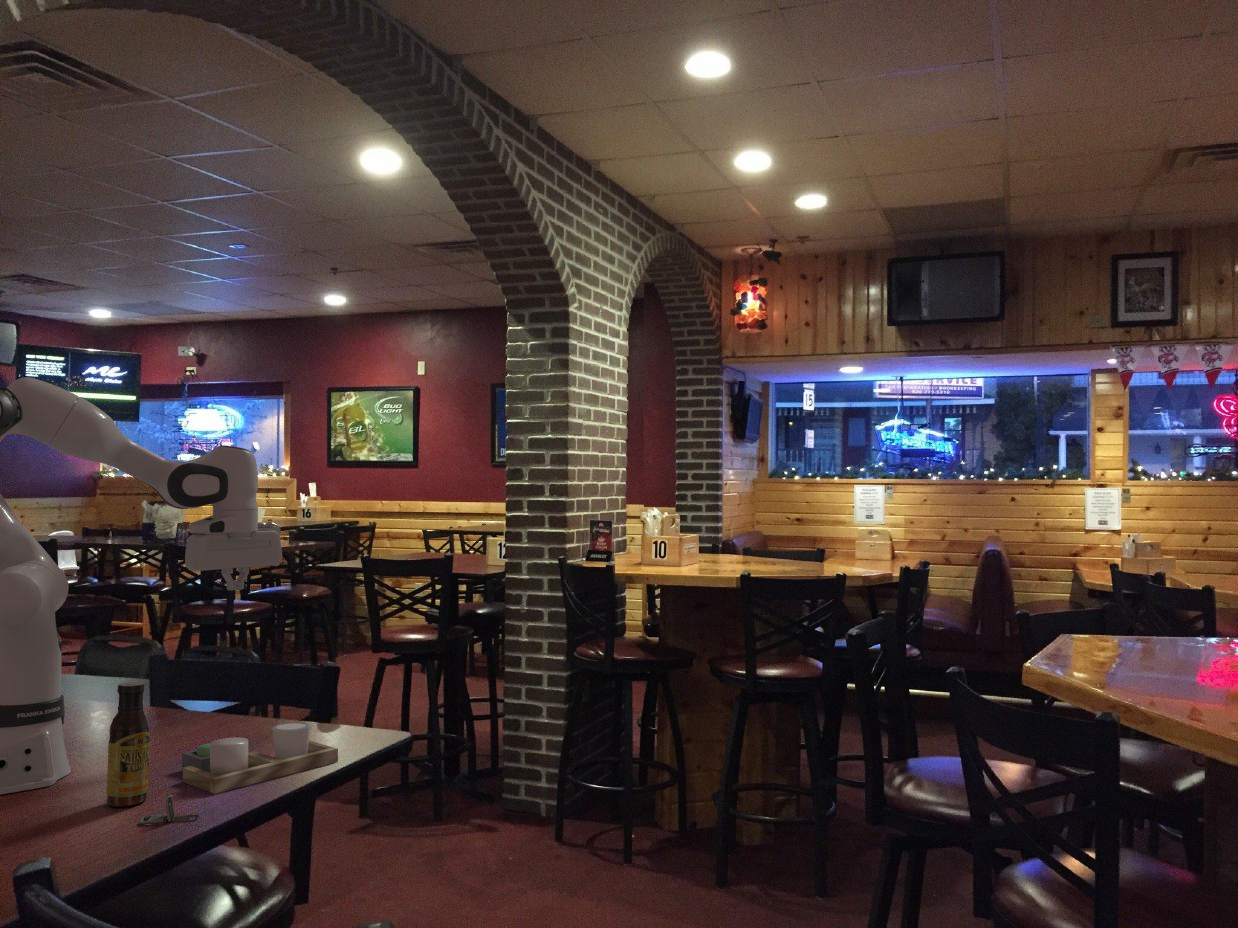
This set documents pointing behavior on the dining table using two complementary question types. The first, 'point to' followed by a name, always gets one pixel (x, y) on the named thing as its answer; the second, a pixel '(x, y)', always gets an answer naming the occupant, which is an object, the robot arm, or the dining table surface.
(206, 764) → the button box
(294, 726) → the white tapered cup
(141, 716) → the sauce bottle
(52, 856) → the dining table surface
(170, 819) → the strap clip
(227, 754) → the white cylinder puck
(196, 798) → the dining table surface
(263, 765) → the frame
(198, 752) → the button
